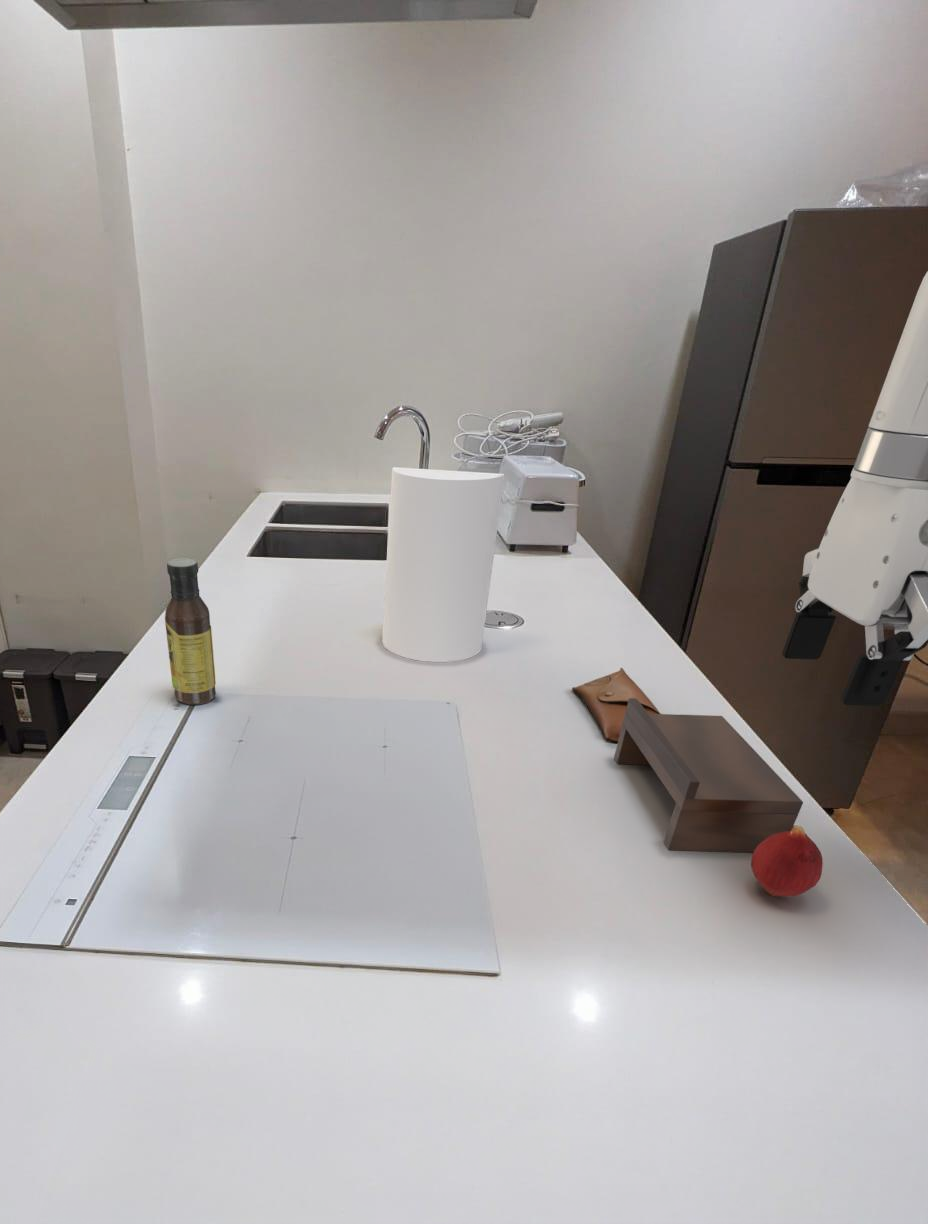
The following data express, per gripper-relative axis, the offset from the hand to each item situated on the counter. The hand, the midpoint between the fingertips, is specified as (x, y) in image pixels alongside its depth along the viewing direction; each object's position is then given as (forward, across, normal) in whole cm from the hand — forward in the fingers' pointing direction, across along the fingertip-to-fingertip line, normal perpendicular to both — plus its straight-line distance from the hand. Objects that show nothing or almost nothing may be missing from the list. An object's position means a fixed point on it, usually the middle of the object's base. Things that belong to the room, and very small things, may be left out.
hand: (828, 679), depth 63 cm
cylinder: (+22, +65, +26) cm, 74 cm away
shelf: (+22, +15, 0) cm, 27 cm away
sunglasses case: (+22, +38, +2) cm, 44 cm away
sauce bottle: (+22, +40, +63) cm, 78 cm away
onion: (+22, -2, -2) cm, 22 cm away
